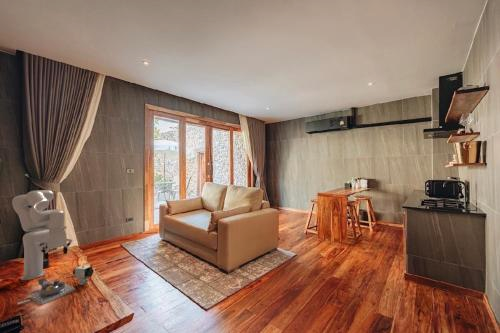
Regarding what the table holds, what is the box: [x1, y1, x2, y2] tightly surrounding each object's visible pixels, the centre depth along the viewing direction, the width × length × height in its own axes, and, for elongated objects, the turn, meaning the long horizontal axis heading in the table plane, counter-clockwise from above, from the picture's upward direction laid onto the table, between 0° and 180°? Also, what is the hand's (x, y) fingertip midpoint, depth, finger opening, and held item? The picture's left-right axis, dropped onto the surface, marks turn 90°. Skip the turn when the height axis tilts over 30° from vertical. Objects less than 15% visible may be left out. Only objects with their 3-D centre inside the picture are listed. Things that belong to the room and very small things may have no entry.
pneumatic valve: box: [72, 264, 95, 286], centre depth 142 cm, size 6×12×12 cm, turn 78°
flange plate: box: [16, 283, 76, 306], centre depth 127 cm, size 16×22×2 cm
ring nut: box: [37, 277, 66, 296], centre depth 132 cm, size 22×11×4 cm, turn 64°
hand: (56, 256), depth 141 cm, fingers open, 9 cm apart
